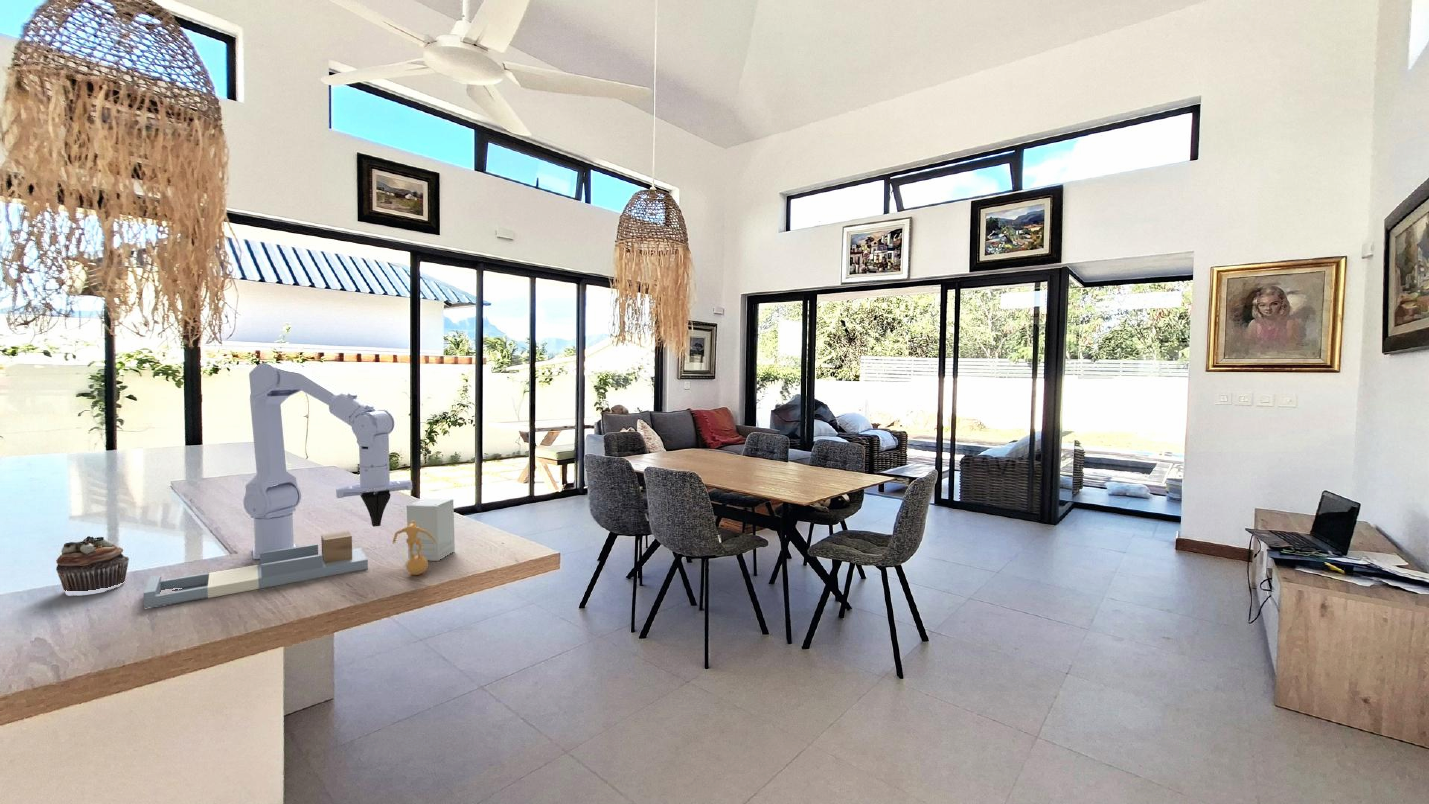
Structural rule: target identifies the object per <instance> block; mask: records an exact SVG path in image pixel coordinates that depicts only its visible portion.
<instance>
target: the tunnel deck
mask: <svg viewBox="0 0 1429 804" xmlns="http://www.w3.org/2000/svg"><path fill="white" fill-rule="evenodd" d="M368 565H369V562H368V558H367V556H366V555H365V553H364V551H363V550H362V548H361V547H357V548H352V559H348V560H342V561H337V562H331V563H324V561H323V555H322V553H320V554H319V544H318V543H314V544H313V543H312V544H306V545H301V546H296V547H292V548H285V549H279V550H272V551H266V552H260V559H259V564H254V565H249V566H243V567H236V568H231V569H224V570H218V571H212V572H210V571H209V572H203V573H196V574H192V575H186V576H180V577H174V578H167V579H166V578H165V579H162V574H160V575H155V576H154V575H152V576H149V579H148V581H147V584H146V587H145V589H144V591H143V606H144V607H143V608H148V607H156V606H161V607H164V606H163V605H167V606H170V605H169V604H172V605H177V604H176V603H178V604H182V603H189V602H192V601H198V600H204V599H205V600H206V599H210V598H214V597H220V596H221V597H222V596H226V595H227V596H228V595H231V594H236V593H237V594H238V593H242V592H248V591H253V590H254V591H255V590H257V589H258V590H259V589H265V588H268V587H269V588H271V587H275V586H281V585H285V584H291V583H296V582H297V583H298V582H303V581H308V580H313V579H318V578H319V579H320V578H324V577H325V578H326V577H330V576H335V575H340V574H346V573H350V572H351V573H352V572H357V571H362V570H367V569H369V566H368ZM173 588H182V589H179V590H178V589H175V590H172V591H175V592H170V593H164V594H160V592H161V590H165V589H173ZM156 608H157V607H156Z"/></svg>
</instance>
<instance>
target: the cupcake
mask: <svg viewBox="0 0 1429 804" xmlns="http://www.w3.org/2000/svg"><path fill="white" fill-rule="evenodd" d="M123 552H124V549H123V547H120V546H118V545H115V544H114V542H112V541H109V540H107V539H105V538H104V536H98V537H94V536H90V535H89V536H86V537H85V538H84V539H83V540H82V541H77V542H75V541H74V542H73V541H70V542H66V543H64V544H63V547H62V548H61V554H60V555H59V556H58V557H57V559H55V560H56V561H55V562H56V564H57V565H56V569H55V571H56V572H57V575H58V578H59V580H60V583H61V585H62V589H63V591H64V590H65V591H66V590H67V591H88V590H96V589H100V588H108V587H111V586H114V585H118V584H120V583H123V582H124V581H125V582H126V577H127V571H128V566H129V561H130V558H129V557H128V556H125V555H124V554H123Z"/></svg>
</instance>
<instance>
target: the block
mask: <svg viewBox="0 0 1429 804" xmlns="http://www.w3.org/2000/svg"><path fill="white" fill-rule="evenodd" d="M320 537H321V540H320V541H321V554H322V555H323V561H324V563H331V562H337V561H342V560H348V559H352V549H353V538H352V537H353V536H352V534H351V533H350V530H344V531H336V532H331V533H330V532H329V533H322V534H321V536H320Z"/></svg>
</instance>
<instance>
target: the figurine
mask: <svg viewBox="0 0 1429 804" xmlns="http://www.w3.org/2000/svg"><path fill="white" fill-rule="evenodd" d="M418 532H422V533H426V534H427V535H428V536H429V537H430V538H432V539H433V540H434V542H435V539H434V538H433V536H432V535H430V534H429V532H427V531H425V530H423V529H421V528H419V527H417V526H416V522H415V521H414V520H413V521H411V523H410V524H409V525H408V526H406V527H403V528H402V529H399V530H398V531H396V532H395V533H394V537H393V539H392V544H395V543H397V542H396V541H397V536H398V535H399V534H402V533H406V535H407V538H406V543H407V546H408V545H409V546H410V549H409V552H410V555H411V559H409V558H408V561H407V563H406V570H407V572H408V573H409V574H411V575H414V576H420V575H421V574H424V573H425V572H426V571H427V569H428V566H429V562H428V561H429V560H427V559H426V558H425V557H423V556H422V555H420V551H421V547H422V543H421V539H420V538H418V539H417V534H418ZM408 537H409V538H408ZM414 542H416V545H418V546H419V548H418V549H417V554H418V555H417V556H414V555H413V553H412V551H413V544H414ZM435 543H436V542H435Z"/></svg>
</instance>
